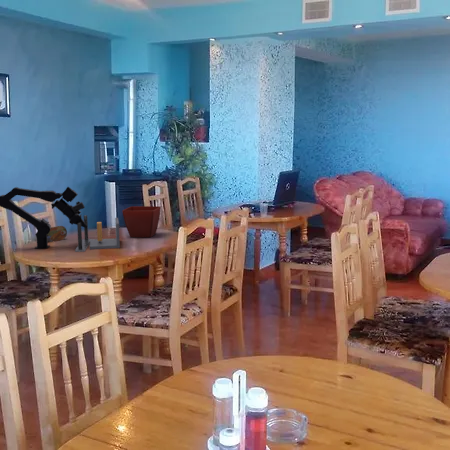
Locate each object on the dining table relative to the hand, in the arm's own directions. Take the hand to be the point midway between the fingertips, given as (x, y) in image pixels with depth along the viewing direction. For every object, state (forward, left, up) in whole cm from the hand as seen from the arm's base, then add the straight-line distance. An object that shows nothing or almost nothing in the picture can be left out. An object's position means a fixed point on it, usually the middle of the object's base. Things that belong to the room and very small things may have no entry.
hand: (86, 227), depth 337 cm
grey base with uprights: (+2, -9, -10) cm, 14 cm away
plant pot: (+32, -25, -11) cm, 42 cm away
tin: (+15, +23, -11) cm, 30 cm away
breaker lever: (+2, -7, -8) cm, 11 cm away
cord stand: (-1, +2, -11) cm, 11 cm away
